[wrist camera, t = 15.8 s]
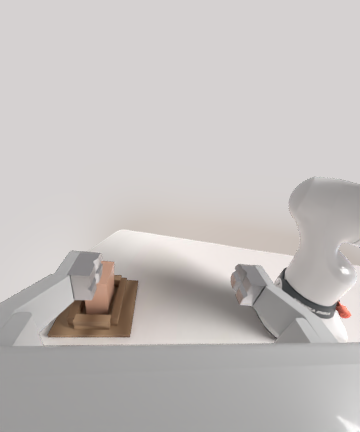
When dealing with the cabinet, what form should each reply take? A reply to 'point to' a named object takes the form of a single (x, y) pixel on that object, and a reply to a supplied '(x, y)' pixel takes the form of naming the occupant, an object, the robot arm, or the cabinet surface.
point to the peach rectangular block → (102, 291)
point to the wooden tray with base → (95, 323)
